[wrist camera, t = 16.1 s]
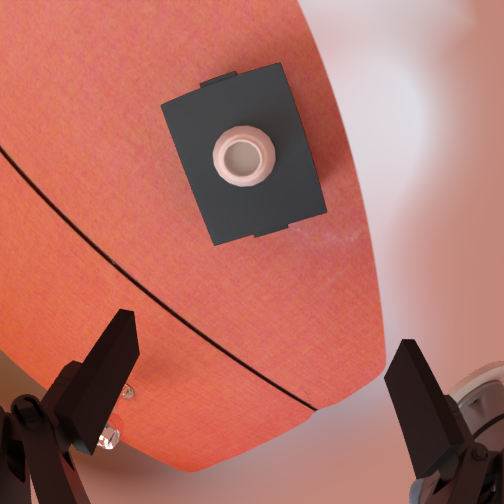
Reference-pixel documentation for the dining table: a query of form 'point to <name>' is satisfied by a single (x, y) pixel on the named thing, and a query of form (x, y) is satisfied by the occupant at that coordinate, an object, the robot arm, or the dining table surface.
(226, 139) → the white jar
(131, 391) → the wineglass
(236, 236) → the box
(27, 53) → the dining table surface
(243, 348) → the dining table surface
